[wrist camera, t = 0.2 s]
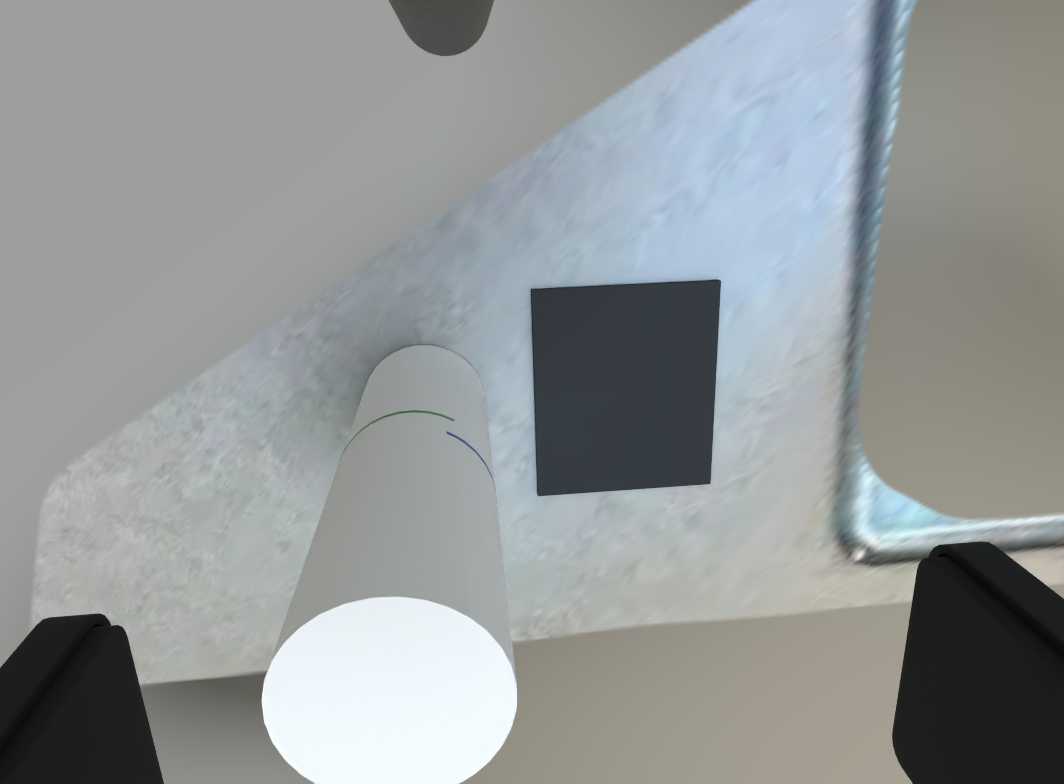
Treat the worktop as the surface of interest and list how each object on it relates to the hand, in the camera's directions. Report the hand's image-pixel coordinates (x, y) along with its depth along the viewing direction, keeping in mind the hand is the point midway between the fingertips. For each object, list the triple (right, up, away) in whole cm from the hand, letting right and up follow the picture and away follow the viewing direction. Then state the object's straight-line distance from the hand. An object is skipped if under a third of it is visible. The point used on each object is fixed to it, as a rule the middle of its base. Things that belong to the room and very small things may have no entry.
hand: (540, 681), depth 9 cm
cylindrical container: (-6, +3, +36) cm, 37 cm away
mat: (+6, +3, +37) cm, 38 cm away
